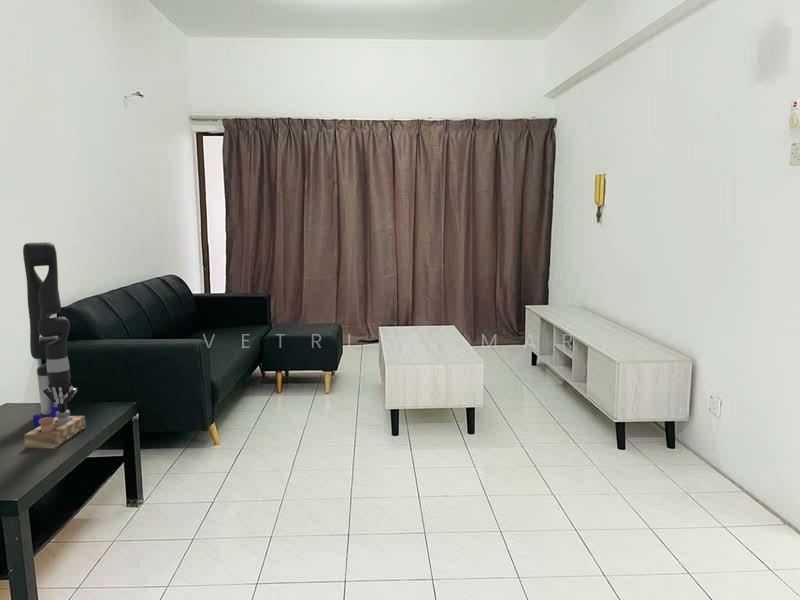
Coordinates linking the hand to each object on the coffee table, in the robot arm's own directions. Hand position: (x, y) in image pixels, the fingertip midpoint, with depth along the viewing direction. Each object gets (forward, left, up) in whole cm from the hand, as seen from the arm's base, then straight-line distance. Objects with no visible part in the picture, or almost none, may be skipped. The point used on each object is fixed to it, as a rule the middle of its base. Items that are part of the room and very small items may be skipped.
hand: (62, 412), depth 231 cm
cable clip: (-9, -13, -9) cm, 18 cm away
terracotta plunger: (+10, 0, -7) cm, 12 cm away
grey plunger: (0, 0, -8) cm, 8 cm away
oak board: (+5, 0, -8) cm, 10 cm away
